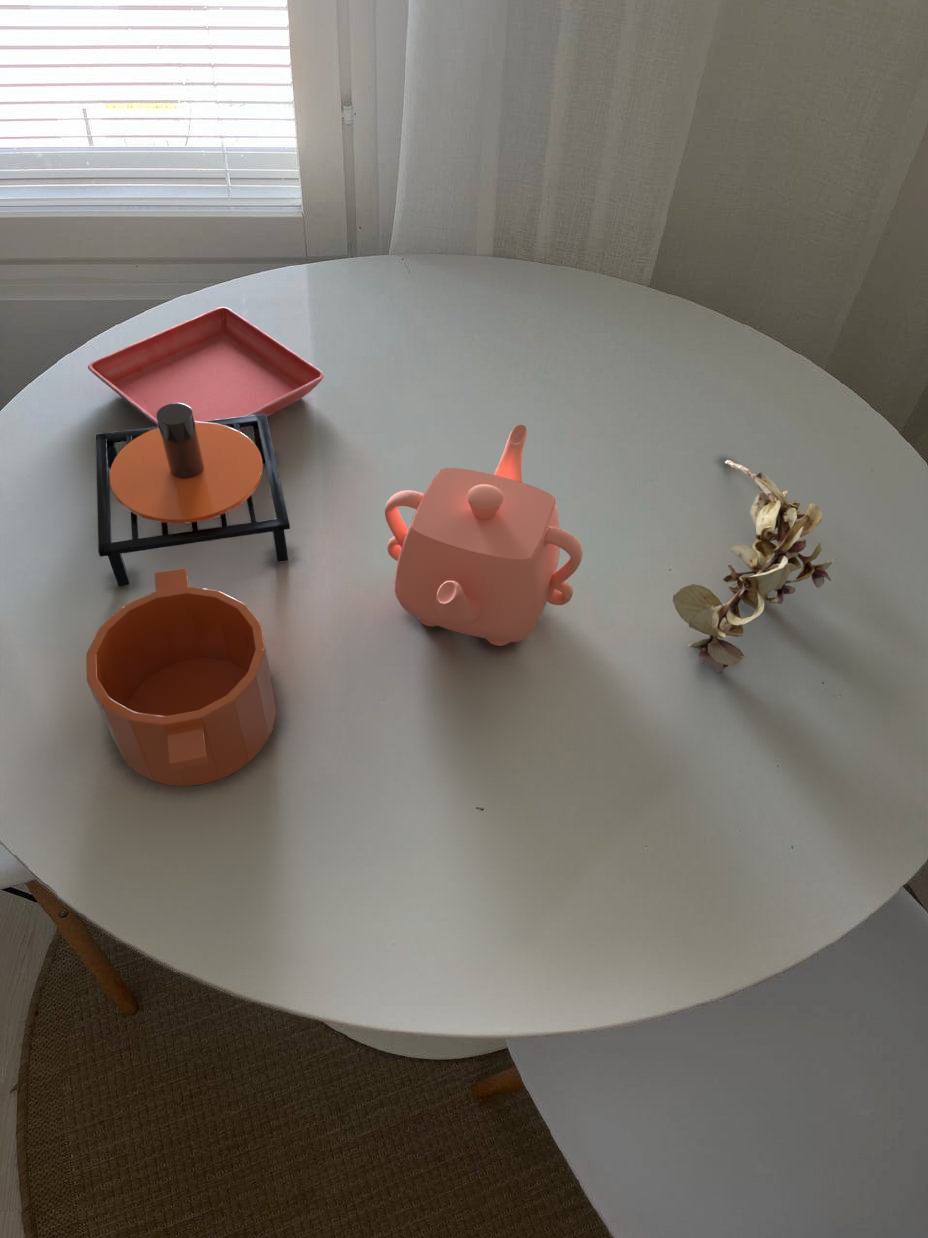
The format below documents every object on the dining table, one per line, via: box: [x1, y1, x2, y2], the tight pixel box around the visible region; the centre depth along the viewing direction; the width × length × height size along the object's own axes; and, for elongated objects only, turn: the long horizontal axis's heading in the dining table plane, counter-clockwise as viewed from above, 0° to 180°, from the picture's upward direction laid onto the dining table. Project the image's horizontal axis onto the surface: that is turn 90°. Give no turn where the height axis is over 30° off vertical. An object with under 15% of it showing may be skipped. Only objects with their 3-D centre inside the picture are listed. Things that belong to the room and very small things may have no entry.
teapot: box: [384, 424, 583, 647], centre depth 77 cm, size 15×17×13 cm
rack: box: [95, 414, 291, 587], centre depth 84 cm, size 16×16×5 cm
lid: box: [109, 403, 264, 524], centre depth 80 cm, size 13×13×7 cm
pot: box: [85, 567, 277, 787], centre depth 69 cm, size 12×18×8 cm
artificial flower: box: [672, 459, 836, 674], centre depth 84 cm, size 10×14×30 cm
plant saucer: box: [87, 306, 325, 431], centre depth 97 cm, size 18×18×3 cm
